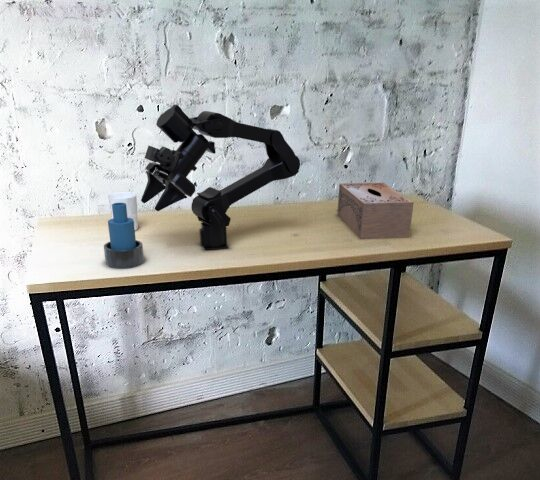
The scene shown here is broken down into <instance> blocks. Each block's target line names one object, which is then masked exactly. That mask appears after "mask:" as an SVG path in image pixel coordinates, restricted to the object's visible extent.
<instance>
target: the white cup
mask: <svg viewBox="0 0 540 480" xmlns="http://www.w3.org/2000/svg"><path fill="white" fill-rule="evenodd" d="M107 196H108V204H109V209H110V215H111V219H113V210H112V204H114V203H126V208H127V217H128V218H132V219H133V220H134V229H135V231H137V230H138V228H139V227H138V226H139V225H138V220H139V219H138V199H137V198H138V197H137V196H138V195H137V193H135V192H131V191H120V192H118V191H117V192H113V193H110V194H108V195H107Z"/></svg>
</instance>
